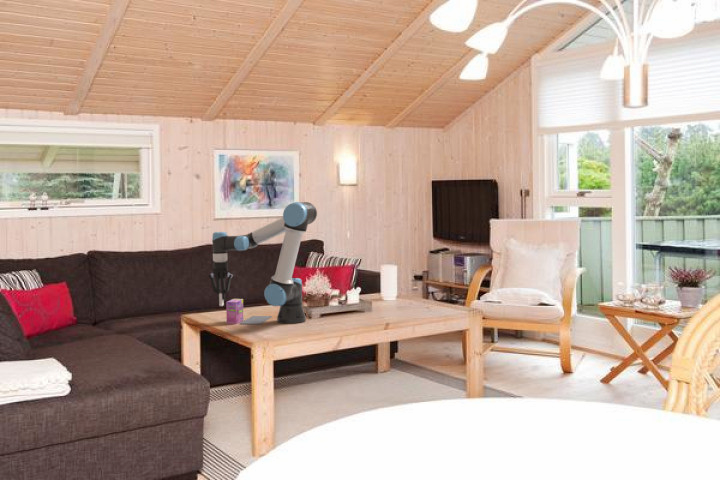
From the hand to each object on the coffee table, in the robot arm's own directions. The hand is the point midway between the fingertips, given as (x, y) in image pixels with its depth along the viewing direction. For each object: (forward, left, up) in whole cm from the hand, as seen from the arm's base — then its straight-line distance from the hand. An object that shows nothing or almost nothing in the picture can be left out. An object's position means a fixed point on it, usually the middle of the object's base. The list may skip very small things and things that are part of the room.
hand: (221, 305), depth 388 cm
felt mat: (-17, -6, -9) cm, 20 cm away
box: (-7, 0, -9) cm, 12 cm away
